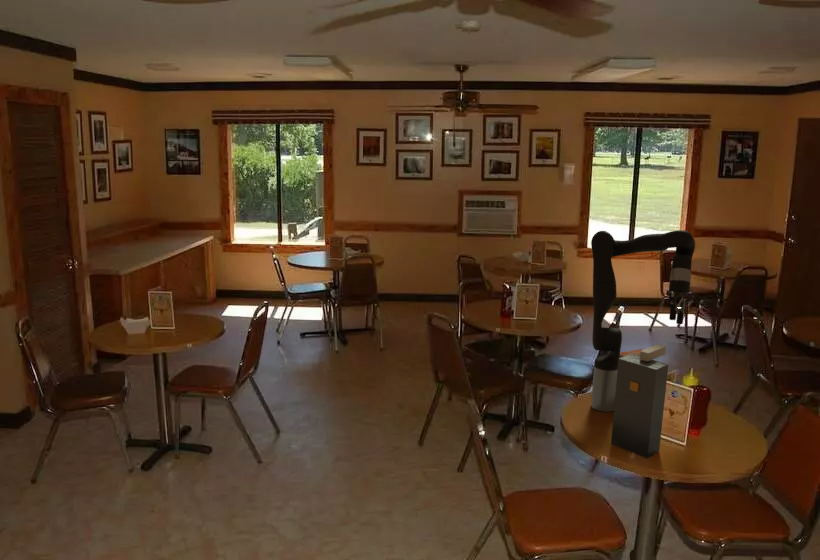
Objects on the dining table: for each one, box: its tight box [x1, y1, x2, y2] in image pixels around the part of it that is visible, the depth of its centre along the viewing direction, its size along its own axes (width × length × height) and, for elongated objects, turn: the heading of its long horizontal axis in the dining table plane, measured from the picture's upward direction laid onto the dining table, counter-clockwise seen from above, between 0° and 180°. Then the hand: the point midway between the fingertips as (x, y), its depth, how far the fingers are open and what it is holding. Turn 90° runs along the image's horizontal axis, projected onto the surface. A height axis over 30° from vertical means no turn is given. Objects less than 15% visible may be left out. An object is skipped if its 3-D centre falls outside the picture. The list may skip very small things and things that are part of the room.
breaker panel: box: [610, 354, 669, 459], centre depth 229 cm, size 9×14×32 cm, turn 41°
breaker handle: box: [640, 343, 667, 362], centre depth 230 cm, size 12×3×3 cm, turn 131°
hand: (675, 322), depth 256 cm, fingers open, 8 cm apart
